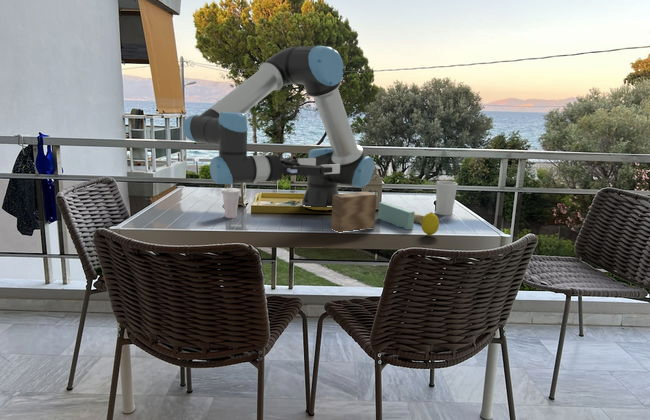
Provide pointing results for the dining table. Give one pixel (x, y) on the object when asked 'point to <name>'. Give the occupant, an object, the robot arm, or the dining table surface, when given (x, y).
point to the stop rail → (396, 215)
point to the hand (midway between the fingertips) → (326, 165)
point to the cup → (445, 197)
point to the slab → (353, 211)
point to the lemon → (430, 224)
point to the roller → (418, 218)
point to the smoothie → (230, 201)
